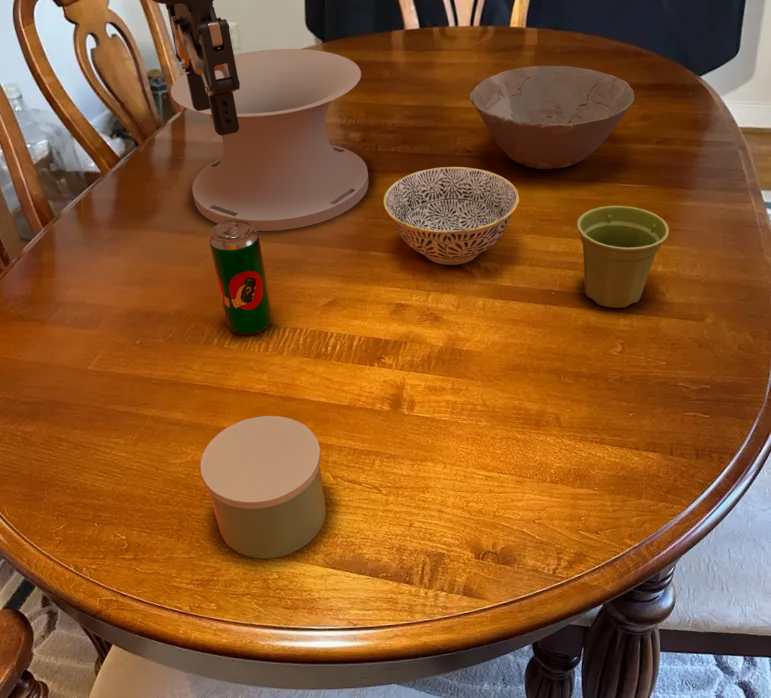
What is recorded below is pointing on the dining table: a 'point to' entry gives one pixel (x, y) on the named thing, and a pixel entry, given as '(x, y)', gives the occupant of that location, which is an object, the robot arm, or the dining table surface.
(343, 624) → the dining table surface
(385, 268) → the dining table surface
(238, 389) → the dining table surface
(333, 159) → the vase
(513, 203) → the bowl
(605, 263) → the plant pot
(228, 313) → the soda can
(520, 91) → the ceramic bowl
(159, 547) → the dining table surface
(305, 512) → the canister
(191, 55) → the robot arm
